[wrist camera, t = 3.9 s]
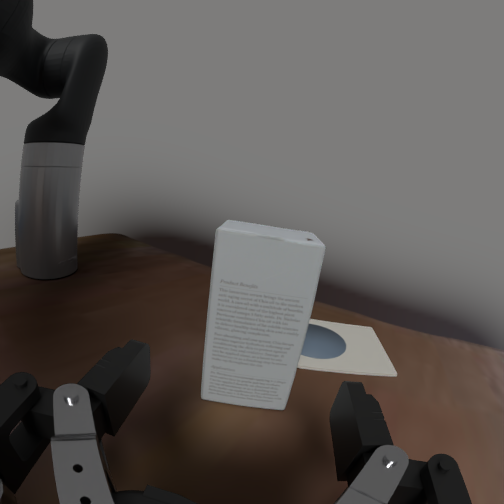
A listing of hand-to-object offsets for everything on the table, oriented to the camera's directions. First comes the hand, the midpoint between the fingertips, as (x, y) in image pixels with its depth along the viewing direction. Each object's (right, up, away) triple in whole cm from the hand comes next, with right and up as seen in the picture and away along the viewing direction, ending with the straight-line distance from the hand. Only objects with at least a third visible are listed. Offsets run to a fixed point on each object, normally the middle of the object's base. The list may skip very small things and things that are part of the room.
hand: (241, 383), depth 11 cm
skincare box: (0, -5, +9) cm, 11 cm away
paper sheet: (+6, -4, +18) cm, 19 cm away
